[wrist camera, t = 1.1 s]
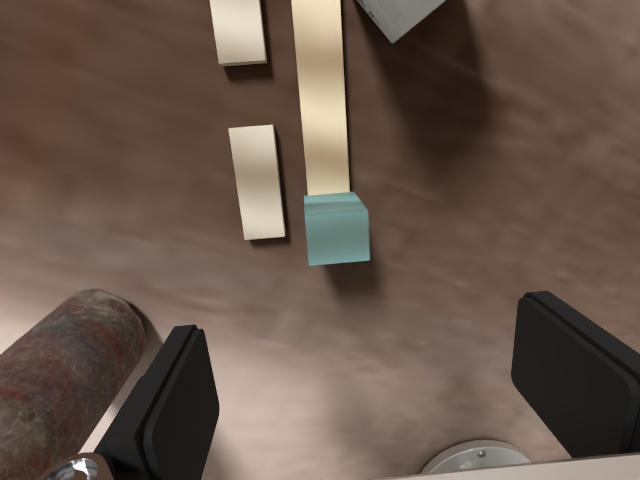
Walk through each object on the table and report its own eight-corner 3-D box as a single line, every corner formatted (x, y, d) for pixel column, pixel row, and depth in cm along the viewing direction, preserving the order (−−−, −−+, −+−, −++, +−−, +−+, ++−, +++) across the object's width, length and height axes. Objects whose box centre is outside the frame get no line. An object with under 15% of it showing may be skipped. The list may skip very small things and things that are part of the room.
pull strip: (451, 218, 29) (498, 249, 22) (307, 230, 28) (309, 265, 22) (465, -139, 22) (539, -257, 15) (275, -127, 22) (263, -242, 15)
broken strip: (285, 231, 29) (285, 236, 27) (247, 235, 28) (244, 240, 27) (247, -123, 22) (244, -136, 21) (196, -120, 22) (190, -133, 20)
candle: (169, 312, 30) (-55, 637, 11) (136, 378, 32) (-105, 753, 13) (76, 271, 29) (-360, 566, 10) (47, 343, 31) (-369, 708, 12)
